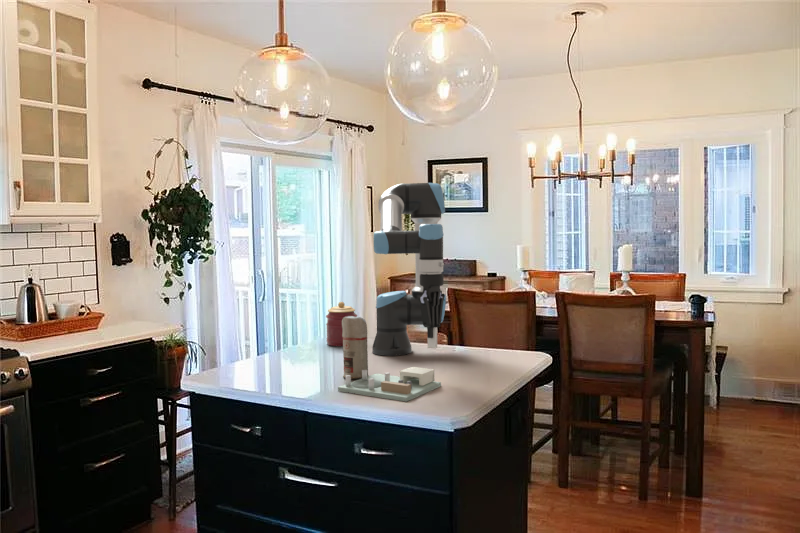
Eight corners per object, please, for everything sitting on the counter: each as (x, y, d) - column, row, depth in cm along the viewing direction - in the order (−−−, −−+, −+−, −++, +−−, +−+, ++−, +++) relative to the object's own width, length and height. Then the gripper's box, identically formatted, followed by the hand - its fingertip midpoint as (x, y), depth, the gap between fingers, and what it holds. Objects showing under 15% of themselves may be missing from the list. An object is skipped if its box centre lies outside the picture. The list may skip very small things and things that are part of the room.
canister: (323, 342, 277) (322, 300, 276) (352, 340, 281) (352, 299, 280) (330, 347, 265) (329, 304, 264) (361, 345, 269) (360, 302, 268)
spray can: (339, 375, 216) (338, 315, 215) (362, 373, 219) (361, 313, 218) (348, 381, 208) (346, 318, 207) (372, 378, 212) (371, 316, 210)
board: (338, 390, 196) (337, 377, 196) (376, 377, 213) (375, 364, 213) (406, 401, 183) (406, 386, 183) (441, 386, 200) (440, 372, 200)
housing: (400, 382, 199) (399, 371, 199) (412, 377, 205) (411, 366, 205) (422, 385, 195) (422, 374, 195) (434, 380, 201) (434, 369, 201)
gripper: (431, 274, 198) (432, 352, 200) (451, 272, 209) (452, 345, 210) (410, 274, 202) (411, 350, 204) (431, 271, 213) (432, 343, 215)
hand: (432, 347), depth 207 cm, fingers closed
